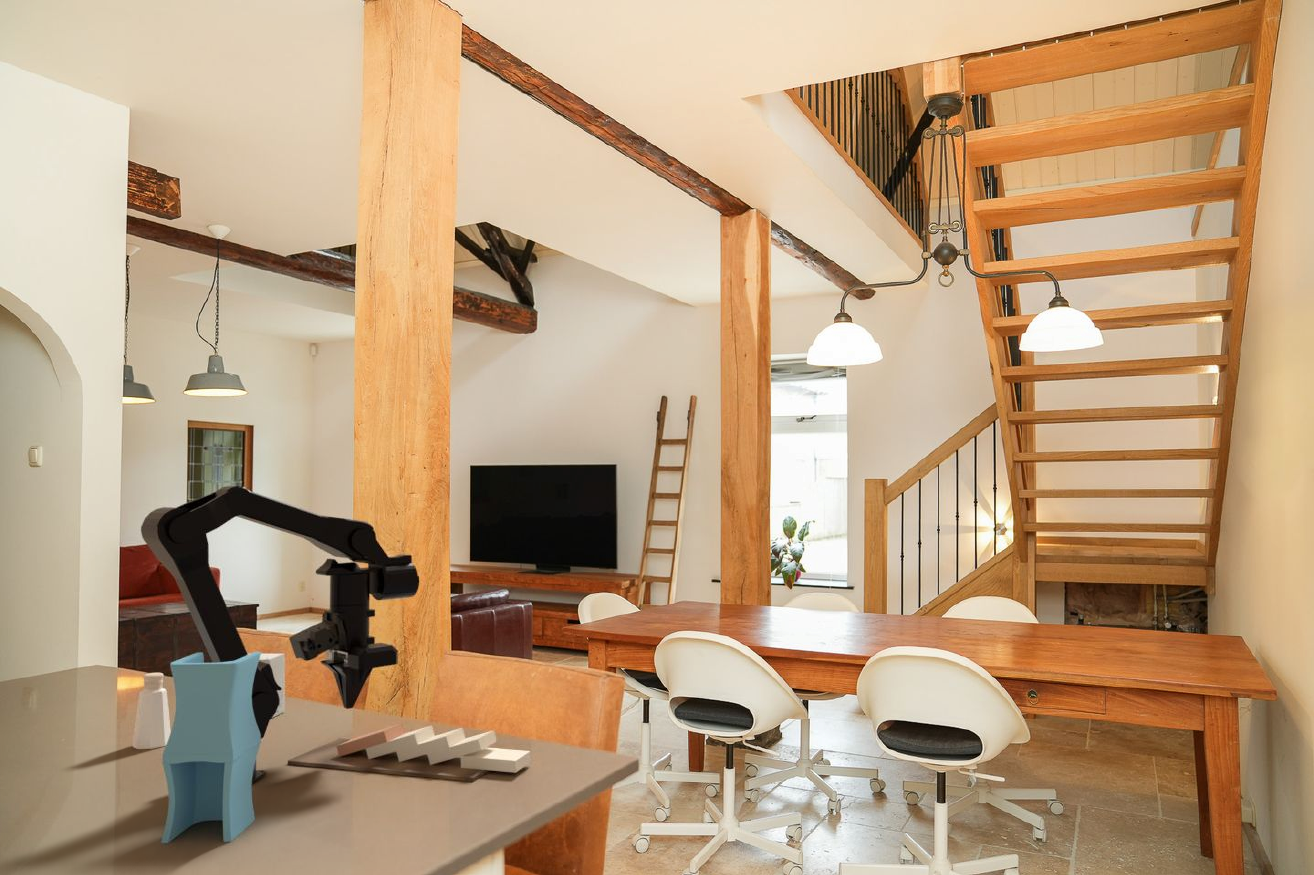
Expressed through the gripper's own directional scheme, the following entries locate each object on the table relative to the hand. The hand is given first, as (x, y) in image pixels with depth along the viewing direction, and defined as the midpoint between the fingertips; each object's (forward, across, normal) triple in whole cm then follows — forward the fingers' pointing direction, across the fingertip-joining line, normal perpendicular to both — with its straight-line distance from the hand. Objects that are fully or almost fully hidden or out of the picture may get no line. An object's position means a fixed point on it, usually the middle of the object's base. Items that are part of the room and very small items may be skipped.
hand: (348, 708), depth 136 cm
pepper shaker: (+7, -28, -18) cm, 35 cm away
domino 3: (+6, +13, +7) cm, 16 cm away
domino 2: (+6, +9, +5) cm, 12 cm away
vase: (+7, +16, -25) cm, 31 cm away
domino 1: (+6, +4, +2) cm, 8 cm away
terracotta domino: (+6, 0, 0) cm, 6 cm away
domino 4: (+6, +18, +9) cm, 21 cm away
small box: (+7, -35, 0) cm, 35 cm away
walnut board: (+7, +8, +4) cm, 11 cm away
